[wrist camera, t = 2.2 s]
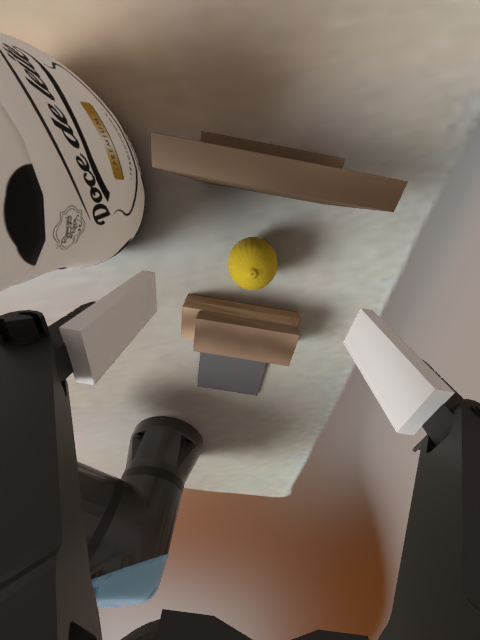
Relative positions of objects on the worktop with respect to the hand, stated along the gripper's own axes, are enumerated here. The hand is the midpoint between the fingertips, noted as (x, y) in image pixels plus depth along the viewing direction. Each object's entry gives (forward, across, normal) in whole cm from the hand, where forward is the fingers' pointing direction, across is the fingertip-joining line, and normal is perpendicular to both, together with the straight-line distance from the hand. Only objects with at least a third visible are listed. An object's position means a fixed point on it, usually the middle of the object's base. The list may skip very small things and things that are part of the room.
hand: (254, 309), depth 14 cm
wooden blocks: (+16, 0, 0) cm, 16 cm away
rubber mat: (+16, 0, +19) cm, 25 cm away
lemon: (+16, 0, 0) cm, 16 cm away
